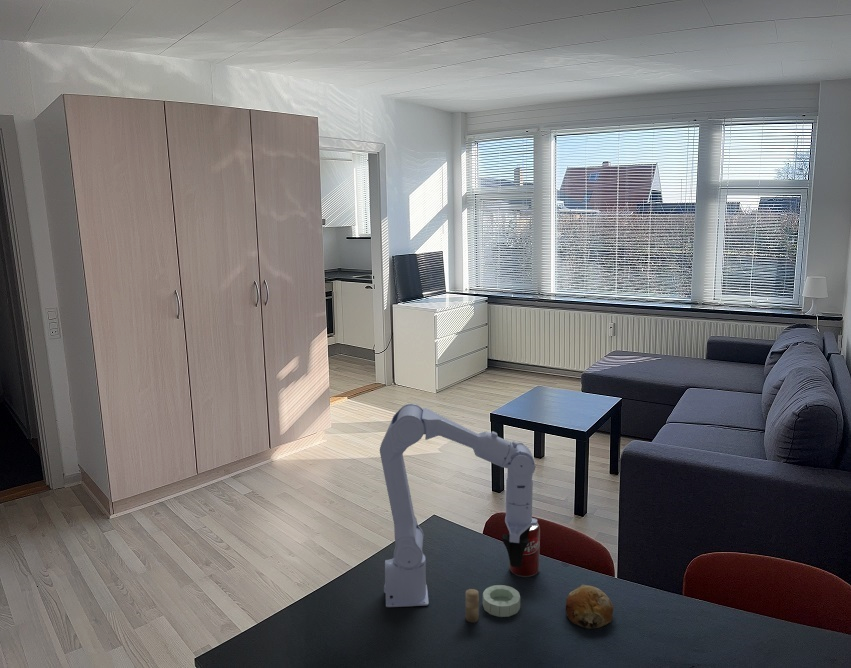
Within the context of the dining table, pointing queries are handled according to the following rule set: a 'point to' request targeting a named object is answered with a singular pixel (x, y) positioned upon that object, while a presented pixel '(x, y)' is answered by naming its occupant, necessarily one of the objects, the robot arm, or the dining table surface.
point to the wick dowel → (472, 605)
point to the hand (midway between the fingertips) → (518, 557)
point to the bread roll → (589, 607)
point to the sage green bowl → (501, 600)
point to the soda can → (529, 555)
